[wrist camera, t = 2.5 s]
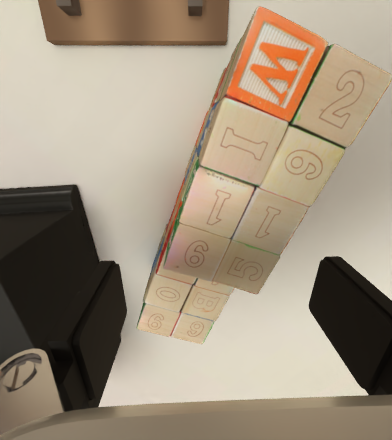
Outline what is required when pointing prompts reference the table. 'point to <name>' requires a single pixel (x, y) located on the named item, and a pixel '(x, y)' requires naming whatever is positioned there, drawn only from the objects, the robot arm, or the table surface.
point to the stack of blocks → (256, 169)
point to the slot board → (135, 22)
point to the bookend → (41, 264)
